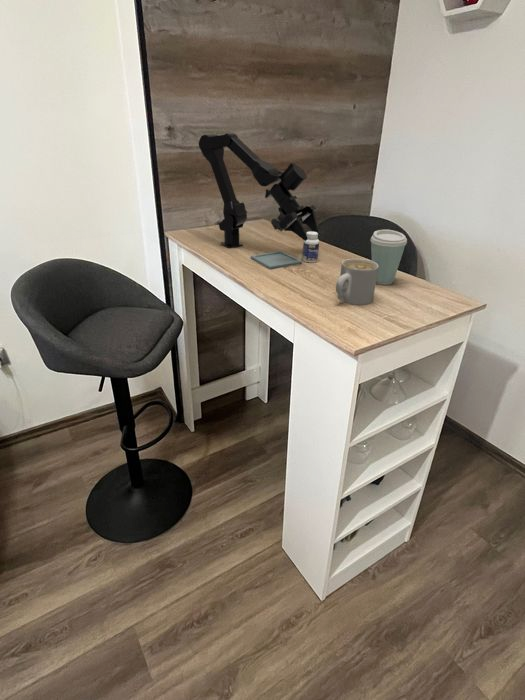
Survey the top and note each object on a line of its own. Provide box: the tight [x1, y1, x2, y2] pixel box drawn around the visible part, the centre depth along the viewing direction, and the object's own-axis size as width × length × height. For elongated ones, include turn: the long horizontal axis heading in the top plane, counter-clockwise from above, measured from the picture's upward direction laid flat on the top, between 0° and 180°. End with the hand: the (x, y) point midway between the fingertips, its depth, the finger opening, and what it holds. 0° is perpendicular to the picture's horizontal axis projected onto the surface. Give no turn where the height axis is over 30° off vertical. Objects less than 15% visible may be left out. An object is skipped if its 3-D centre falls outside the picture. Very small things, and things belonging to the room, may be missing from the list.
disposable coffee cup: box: [369, 229, 408, 286], centre depth 129 cm, size 11×11×15 cm
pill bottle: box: [301, 230, 320, 264], centre depth 146 cm, size 5×5×10 cm
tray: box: [250, 250, 303, 270], centre depth 147 cm, size 13×13×1 cm
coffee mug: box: [335, 258, 379, 306], centre depth 117 cm, size 13×10×10 cm
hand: (312, 236), depth 144 cm, fingers open, 9 cm apart
